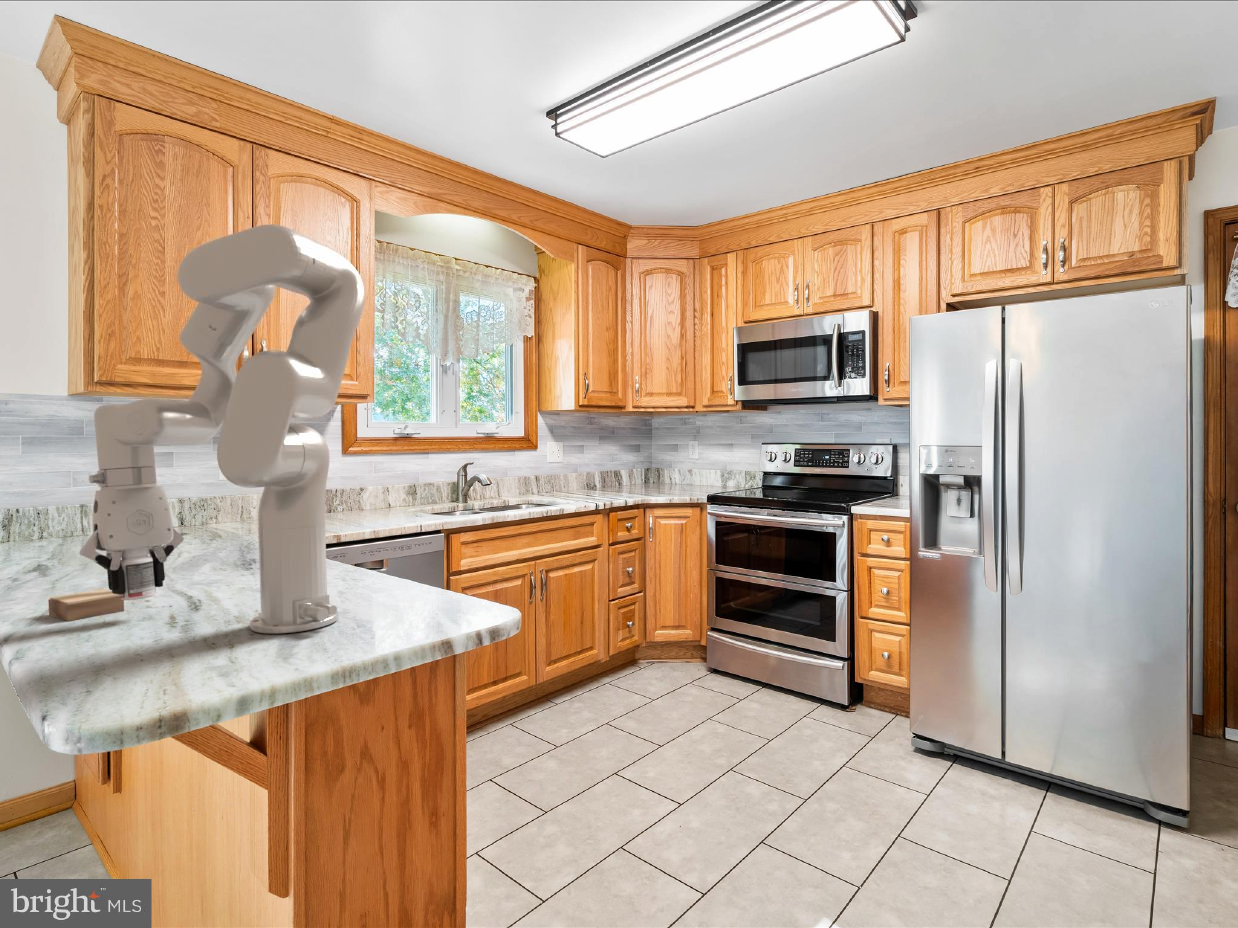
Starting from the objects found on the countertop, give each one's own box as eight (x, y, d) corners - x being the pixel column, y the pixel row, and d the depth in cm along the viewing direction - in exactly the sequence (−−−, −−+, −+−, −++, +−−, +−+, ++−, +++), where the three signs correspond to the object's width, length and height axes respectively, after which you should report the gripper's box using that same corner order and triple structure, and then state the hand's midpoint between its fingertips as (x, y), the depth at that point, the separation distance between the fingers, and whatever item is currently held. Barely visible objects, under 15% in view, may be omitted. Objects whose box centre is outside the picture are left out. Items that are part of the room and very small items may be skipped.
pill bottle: (163, 593, 113) (158, 544, 113) (140, 600, 109) (136, 548, 108) (137, 595, 114) (132, 545, 114) (113, 601, 109) (108, 550, 109)
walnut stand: (124, 610, 118) (123, 593, 118) (67, 621, 111) (67, 603, 111) (104, 605, 122) (103, 588, 122) (49, 615, 115) (48, 597, 115)
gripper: (74, 483, 102) (85, 603, 102) (195, 475, 116) (204, 580, 116) (55, 484, 106) (65, 600, 106) (174, 476, 120) (182, 578, 120)
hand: (138, 588), depth 111 cm, fingers closed on pill bottle, 4 cm apart
